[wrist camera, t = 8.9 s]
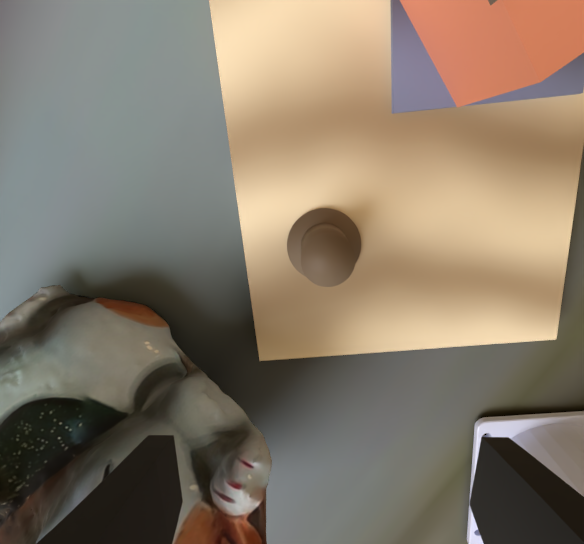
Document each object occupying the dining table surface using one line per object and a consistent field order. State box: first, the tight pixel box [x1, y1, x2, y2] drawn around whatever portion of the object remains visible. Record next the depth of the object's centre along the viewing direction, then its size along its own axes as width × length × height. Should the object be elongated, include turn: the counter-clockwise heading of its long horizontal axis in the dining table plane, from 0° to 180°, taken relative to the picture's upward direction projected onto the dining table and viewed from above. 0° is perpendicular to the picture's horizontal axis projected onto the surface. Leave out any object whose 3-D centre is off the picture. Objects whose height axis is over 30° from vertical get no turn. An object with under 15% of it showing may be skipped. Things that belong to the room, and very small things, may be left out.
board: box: [209, 0, 584, 361], centre depth 14 cm, size 19×14×4 cm
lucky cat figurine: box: [0, 285, 272, 544], centre depth 14 cm, size 15×12×14 cm
